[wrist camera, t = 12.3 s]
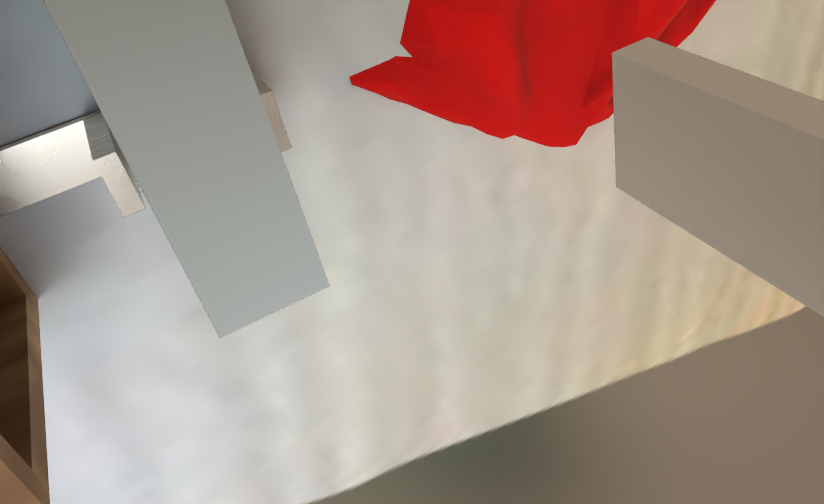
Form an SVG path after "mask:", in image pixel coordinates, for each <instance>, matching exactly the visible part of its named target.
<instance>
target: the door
mask: <svg viewBox="0 0 824 504" xmlns="http://www.w3.org/2000/svg"><path fill="white" fill-rule="evenodd" d="M43 1H44V3H45V5H46V7H47V9H48V11H49V13H50V15H51V17H52V19H53V21H54V22H55V24H56V26H57V28H58V30H59V32H60V34H61V36H62V38H63V40H64V42H65V43H66V45H67V47H68V49H69V51H70V53H71V55H72V57H73V59H74V61H75V63H76V64H77V66H78V68H79V70H80V72H81V74H82V76H83V78H84V80H85V82H86V84H87V85H88V87H89V89H90V91H91V93H92V95H93V97H94V99H95V101H96V103H97V105H98V106H99V108H100V110H101V112H102V114H103V116H104V118H105V120H106V122H107V124H108V126H109V128H110V129H111V131H112V133H113V135H114V137H115V139H116V141H117V143H118V145H119V147H120V149H121V150H122V152H123V154H124V156H125V158H126V160H127V162H128V164H129V166H130V168H131V170H132V171H133V173H134V175H135V177H136V179H137V181H138V183H139V185H140V187H141V189H142V191H143V192H144V194H145V196H146V198H147V200H148V202H149V204H150V206H151V208H152V210H153V212H154V213H155V215H156V217H157V219H158V221H159V223H160V225H161V227H162V229H163V231H164V233H165V235H166V236H167V238H168V240H169V242H170V244H171V246H172V248H173V250H174V252H175V254H176V256H177V257H178V259H179V261H180V263H181V265H182V267H183V269H184V271H185V273H186V275H187V277H188V278H189V280H190V282H191V284H192V286H193V288H194V290H195V292H196V294H197V296H198V298H199V299H200V301H201V303H202V305H203V307H204V309H205V311H206V313H207V315H208V317H209V319H210V320H211V322H212V324H213V326H214V328H215V330H216V332H217V334H218V336H219V338H221V337H223V336H225V335H227V334H229V333H231V332H233V331H236V330H238V329H240V328H242V327H244V326H246V325H248V324H250V323H253V322H255V321H257V320H259V319H261V318H263V317H265V316H267V315H269V314H272V313H274V312H276V311H278V310H280V309H282V308H284V307H286V306H289V305H291V304H293V303H295V302H297V301H299V300H301V299H303V298H306V297H308V296H310V295H312V294H314V293H316V292H318V291H320V290H322V289H325V288H327V287H329V286H330V285H329V282H328V280H327V277H326V274H325V272H324V269H323V266H322V263H321V261H320V258H319V255H318V252H317V250H316V247H315V244H314V241H313V239H312V236H311V233H310V231H309V228H308V225H307V222H306V220H305V217H304V214H303V211H302V209H301V206H300V203H299V201H298V198H297V195H296V192H295V190H294V187H293V184H292V181H291V179H290V176H289V173H288V171H287V168H286V165H285V162H284V160H283V157H282V154H281V151H280V149H279V146H278V143H277V140H276V138H275V135H274V132H273V130H272V127H271V124H270V121H269V119H268V116H267V113H266V110H265V108H264V105H263V102H262V100H261V97H260V94H259V91H258V89H257V86H256V83H255V80H254V78H253V75H252V72H251V69H250V67H249V64H248V61H247V59H246V56H245V53H244V50H243V48H242V45H241V42H240V39H239V37H238V34H237V31H236V29H235V26H234V23H233V20H232V18H231V15H230V12H229V9H228V7H227V4H226V1H225V0H43Z"/></svg>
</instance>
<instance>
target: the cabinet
mask: <svg viewBox="0 0 824 504" xmlns="http://www.w3.org/2000/svg"><path fill="white" fill-rule="evenodd" d="M0 504H50V499H49V482H48V465H47V448H46V431H45V414H44V397H43V380H42V363H41V346H40V329H39V312H38V300H37V298H36V297H35V295H34V294H33V293H32V291H31V290H30V288H29V287H28V286H27V284H26V283H25V281H24V280H23V279H22V277H21V276H20V274H19V273H18V272H17V270H16V269H15V267H14V266H13V264H12V263H11V262H10V260H9V259H8V257H7V256H6V255H5V253H4V252H3V250H2V249H1V248H0Z"/></svg>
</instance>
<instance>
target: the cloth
mask: <svg viewBox="0 0 824 504" xmlns="http://www.w3.org/2000/svg"><path fill="white" fill-rule="evenodd" d="M715 1H716V0H410V2H409V6H408V11H407V15H406V19H405V23H404V28H403V33H402V37H401V42H400V44H401V45H402V46H403V47H404V48H405V49H406V50H407V51H408V52H409V53H410V55H411V56H412V57H399V56H395V57H394V58H392V59H390V60H388V61H386V62H383V63H381V64H379V65H376V66H374V67H371V68H369V69H367V70H364V71H362V72H360V73H357V74H355V75H353V76H350V80H351V83H352V85H355V86H358V87H361V88H364V89H366V90H369V91H372V92H375V93H378V94H380V95H382V96H384V97H387V98H389V99H391V100H395V101H398V102H402V103H406V104H408V105H411V106H413V107H416V108H418V109H420V110H423V111H425V112H428V113H430V114H433V115H435V116H438V117H440V118H443V119H445V120H448V121H451V122H453V123H458V124H462V125H467V126H472V127H474V128H476V129H478V130H480V131H482V132H484V133H486V134H489V135H492V136H495V137H499V138H502V139H504V138H507V137H510V136H513V135H516V136H518V137H521V138H524V139H527V140H530V141H533V142H536V143H539V144H542V145H545V146H550V147H567V146H572V145H576V144H577V143H578V141H579V140H580V138H581V136H582V135H583V133H584V132H585V130H586V129H587V127H589V126H592V125H594V124H597V123H599V122H601V121H603V120H605V119H607V118H609V117H610V116H611V115H612V114H613V113H614V101H613V70H612V52H615V51H617V50H619V49H621V48H624V47H626V46H628V45H631V44H633V43H635V42H638V41H640V40H642V39H645V38H647V37H649V38H652V39H655V40H657V41H660V42H663V43H666V44H668V45H671V46H674V47H677V46H678V45H679V44H680V43H681V42H682V41H683V40H685V39H686V38H687V37H688V36H689V35H690V34H691V33H692V32H693V31H694V29H695V28H696V27H697V25H698V24H699V22H700V21H701V20H702V18H703V17H704V16H705V14H706V13H707V12H708V10H709V9H710V8H711V6H712V5H713V4H714V2H715Z"/></svg>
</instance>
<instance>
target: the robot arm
mask: <svg viewBox="0 0 824 504" xmlns="http://www.w3.org/2000/svg"><path fill="white" fill-rule="evenodd" d="M612 70H613V101H614V133H615V165H616V187H617V188H619V189H620V190H622V191H624V192H625V193H627V194H628V195H630V196H632V197H633V198H635V199H636V200H638V201H640V202H641V203H643V204H644V205H646V206H648V207H649V208H651V209H652V210H654V211H656V212H657V213H659V214H660V215H662V216H664V217H665V218H667V219H668V220H670V221H671V222H673V223H675V224H676V225H678V226H679V227H681V228H683V229H684V230H686V231H687V232H689V233H691V234H692V235H694V236H695V237H697V238H699V239H700V240H702V241H703V242H705V243H707V244H708V245H710V246H711V247H713V248H715V249H716V250H718V251H719V252H721V253H723V254H724V255H726V256H727V257H729V258H731V259H732V260H734V261H735V262H737V263H739V264H740V265H742V266H743V267H745V268H747V269H748V270H750V271H751V272H753V273H754V274H756V275H758V276H759V277H761V278H762V279H764V280H766V281H767V282H769V283H770V284H772V285H774V286H775V287H777V288H778V289H780V290H782V291H783V292H785V293H786V294H788V295H790V296H791V297H793V298H794V299H796V300H798V301H799V302H801V303H802V304H804V305H806V306H807V307H809V308H810V309H812V310H814V311H815V312H817V313H818V314H820V315H822V316H823V317H824V101H822V100H819V99H817V98H814V97H811V96H808V95H806V94H803V93H800V92H797V91H795V90H792V89H789V88H786V87H784V86H781V85H778V84H775V83H773V82H770V81H767V80H764V79H762V78H759V77H756V76H753V75H751V74H748V73H745V72H742V71H740V70H737V69H734V68H731V67H729V66H726V65H723V64H720V63H718V62H715V61H712V60H710V59H707V58H704V57H701V56H699V55H696V54H693V53H690V52H688V51H685V50H682V49H679V48H677V47H674V46H671V45H668V44H666V43H663V42H660V41H657V40H655V39H652V38H649V37H647V38H645V39H642V40H640V41H638V42H635V43H633V44H631V45H628V46H626V47H624V48H621V49H619V50H617V51H615V52H612Z"/></svg>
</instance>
